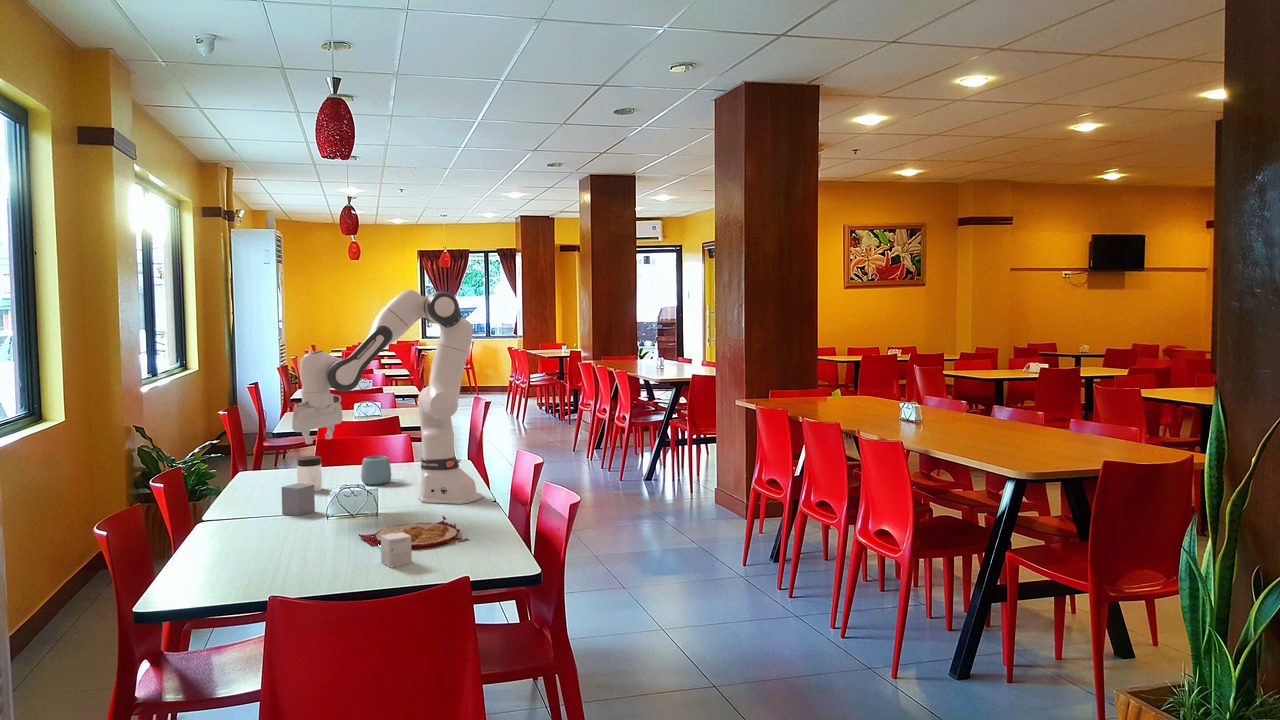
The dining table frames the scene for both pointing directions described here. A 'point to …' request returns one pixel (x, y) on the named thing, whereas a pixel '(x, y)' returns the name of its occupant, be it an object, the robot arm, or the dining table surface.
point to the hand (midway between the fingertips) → (319, 441)
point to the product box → (396, 549)
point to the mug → (376, 470)
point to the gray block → (298, 499)
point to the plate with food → (420, 534)
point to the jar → (310, 471)
